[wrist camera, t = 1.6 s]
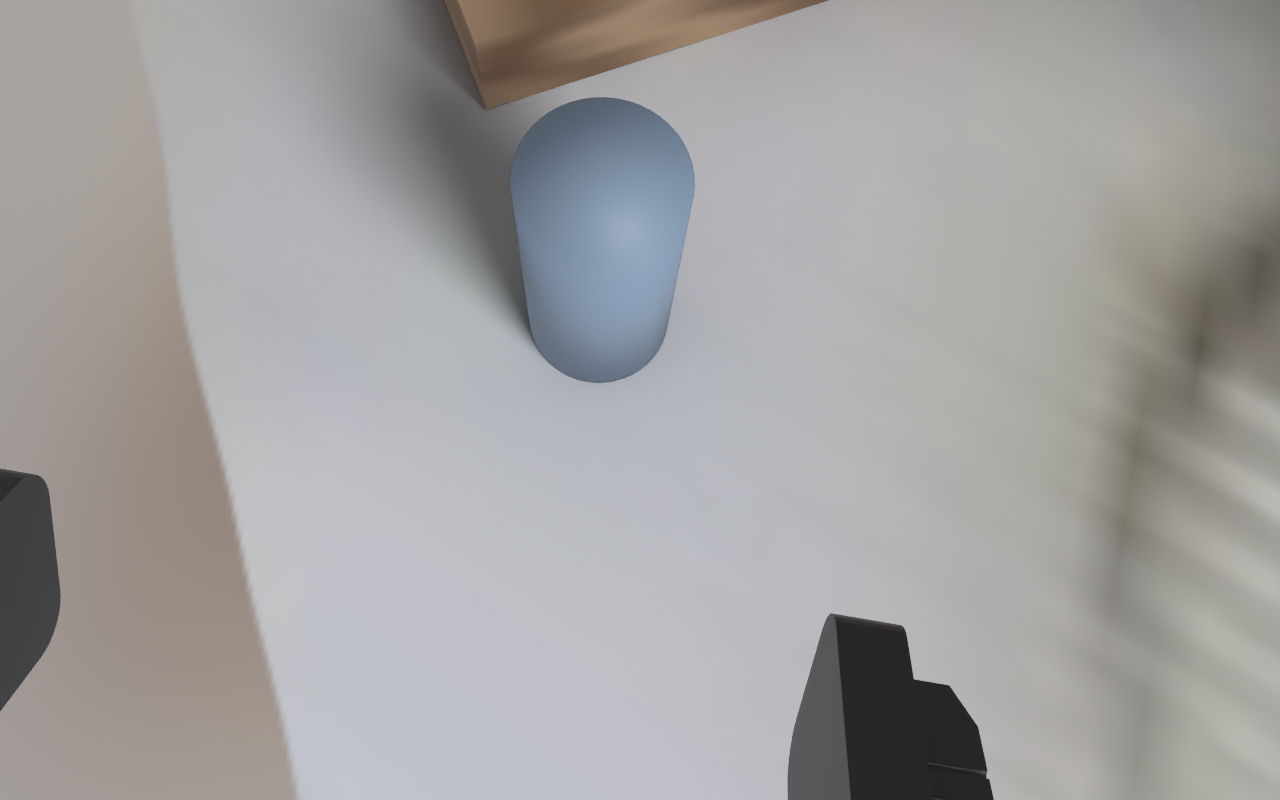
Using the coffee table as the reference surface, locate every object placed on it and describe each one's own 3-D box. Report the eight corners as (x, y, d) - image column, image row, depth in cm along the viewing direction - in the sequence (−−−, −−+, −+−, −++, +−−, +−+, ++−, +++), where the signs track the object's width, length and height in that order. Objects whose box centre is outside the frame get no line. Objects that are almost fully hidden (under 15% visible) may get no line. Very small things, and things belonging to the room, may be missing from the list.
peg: (638, 233, 40) (655, 74, 30) (688, 355, 39) (722, 232, 29) (509, 276, 39) (484, 129, 29) (556, 402, 38) (546, 292, 28)
